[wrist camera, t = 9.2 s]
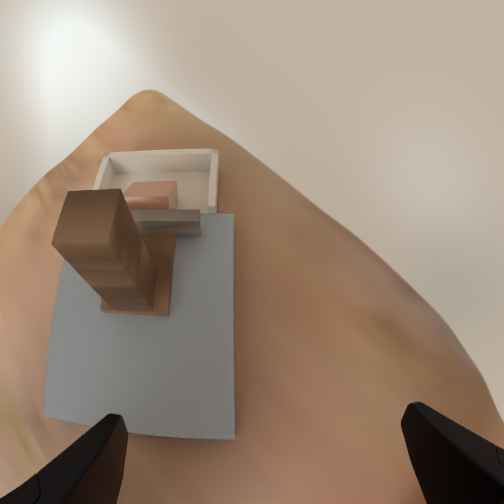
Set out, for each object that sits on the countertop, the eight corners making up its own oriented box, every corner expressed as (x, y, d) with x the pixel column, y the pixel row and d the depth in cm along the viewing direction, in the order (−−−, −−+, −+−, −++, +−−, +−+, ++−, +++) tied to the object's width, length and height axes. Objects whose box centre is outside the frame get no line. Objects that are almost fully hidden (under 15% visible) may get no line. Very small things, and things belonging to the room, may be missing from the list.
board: (234, 436, 20) (235, 439, 18) (56, 416, 19) (43, 415, 17) (233, 226, 28) (234, 213, 26) (84, 227, 27) (76, 215, 25)
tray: (216, 226, 27) (214, 206, 25) (97, 227, 27) (86, 208, 24) (219, 170, 31) (218, 148, 28) (112, 173, 30) (105, 153, 27)
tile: (169, 220, 24) (168, 196, 23) (122, 220, 24) (119, 197, 23) (178, 202, 28) (176, 180, 27) (135, 203, 28) (133, 182, 27)
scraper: (197, 317, 22) (174, 246, 13) (80, 310, 21) (6, 245, 12) (202, 227, 25) (190, 129, 16) (97, 228, 24) (49, 141, 16)
